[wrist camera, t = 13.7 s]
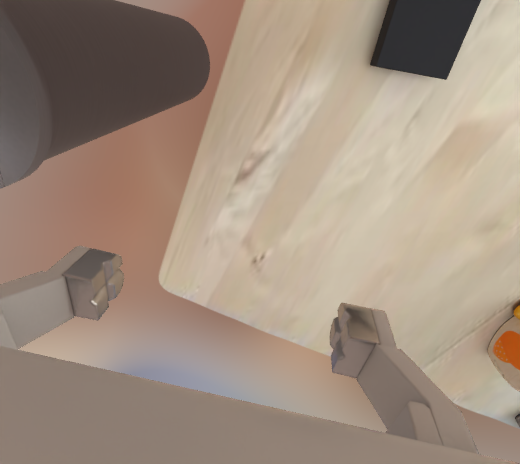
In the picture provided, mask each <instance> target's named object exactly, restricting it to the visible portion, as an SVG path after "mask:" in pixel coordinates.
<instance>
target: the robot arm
mask: <svg viewBox="0 0 520 464" xmlns="http://www.w3.org/2000/svg"><path fill="white" fill-rule="evenodd" d="M121 265H122V258H121V256H119V255H117V254H114V253H110V252H105V251H101V250H97V249H91V248H87V247H83V246H78V247H75V248H74V249H73V250H71V251H70V252H69V253H68V254H67V255H66V256H64V257H63V258H62V259H61V260H59V261H58V262H57V263H56V264H55V265H54V266H52V267H51V268H50V269H49V270H48V271H46V272H43V271H40V272H37V273H34V274H31V275H28V276H25V277H22V278H19V279H16V280H13V281H10V282H7V283H3V284H0V464H520V463H516V462H511V461H507V460H503V459H498V458H494V457H490V456H485V455H481V454H479V452H478V450H477V448H476V445H475V443H474V441H473V438H472V436H471V434H470V431H469V429H468V427H467V424H466V422H465V420H464V417H463V415H462V412H461V411H460V410H459V409H458V408H457V407H456V406H455V405H454V403H453V402H452V401H451V400H450V399H449V398H448V397H447V396H446V395H445V394H444V393H443V392H442V391H441V390H440V389H439V388H438V387H437V386H436V385H435V384H434V383H433V382H432V381H431V380H430V379H429V378H428V377H427V376H426V374H425V373H424V372H423V371H422V370H421V369H420V368H419V367H418V366H417V365H416V364H415V363H414V362H413V361H412V360H411V359H410V358H409V357H408V356H407V355H406V354H405V353H404V352H403V351H402V350H401V349H397V347H396V343H395V340H394V337H393V334H392V331H391V327H390V324H389V321H388V318H387V315H386V313H385V311H383V310H378V309H372V308H366V307H361V306H357V305H352V304H347V303H341V304H340V306H339V308H338V317H336V318H335V319H334V320H333V323H332V325H331V330H330V345H331V347H332V348H333V349H334V350H333V352H332V354H331V361H332V372H333V373H337V374H341V375H345V376H349V377H353V378H357V381H358V383H359V384H360V386H361V388H362V389H363V391H364V392H365V394H366V396H367V397H368V399H369V400H370V402H371V403H372V405H373V407H374V408H375V410H376V412H377V413H378V415H379V416H380V418H381V420H382V421H383V423H384V424H385V426H386V428H387V429H388V430H387V431H386V433H383V432H379V431H375V430H370V429H366V428H361V427H357V426H353V425H348V424H344V423H339V422H335V421H331V420H326V419H322V418H317V417H312V416H309V415H304V414H300V413H295V412H291V411H286V410H282V409H277V408H273V407H269V406H264V405H259V404H255V403H251V402H246V401H242V400H237V399H233V398H229V397H224V396H220V395H215V394H211V393H206V392H202V391H198V390H193V389H189V388H185V387H180V386H175V385H171V384H167V383H162V382H158V381H154V380H149V379H145V378H140V377H136V376H132V375H127V374H123V373H118V372H114V371H110V370H105V369H101V368H96V367H91V366H87V365H83V364H79V363H74V362H70V361H65V360H60V359H56V358H52V357H47V356H43V355H39V354H34V353H30V352H25V351H21V350H18V349H19V348H21V347H23V346H24V345H26V344H28V343H30V342H31V341H33V340H35V339H36V338H38V337H40V336H42V335H44V334H45V333H47V332H49V331H51V330H52V329H54V328H56V327H58V326H59V325H61V324H63V323H65V322H67V321H68V320H70V319H72V318H74V316H77V317H82V318H88V319H93V320H99V319H100V317H101V316H102V314H104V312H105V311H106V310H107V308H108V307H109V304H108V301H110V300H112V299H114V298H116V297H117V295H118V294H119V293H120V291H121V288H122V286H123V281H124V274H123V272H122V271H121V270H120V268H119V267H120V266H121Z"/></svg>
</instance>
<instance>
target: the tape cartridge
mask: <svg viewBox="0 0 520 464" xmlns="http://www.w3.org/2000/svg"><path fill="white" fill-rule="evenodd" d="M515 419H516V421H517V423H518V425H519V427H520V415H518V416H517V417H516V418H515Z"/></svg>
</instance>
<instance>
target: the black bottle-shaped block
mask: <svg viewBox="0 0 520 464" xmlns="http://www.w3.org/2000/svg"><path fill="white" fill-rule="evenodd" d="M480 1H481V0H390V2H389V5H388V8H387V11H386V15H385V18H384V21H383V24H382V28H381V31H380V34H379V37H378V41H377V44H376V47H375V50H374V54H373V57H372V60H371V63H370V65H371V66H376V67H381V68H387V69H392V70H397V71H403V72H408V73H413V74H419V75H424V76H429V77H435V78H440V79H445V80H446V79H447V77H448V75H449V73H450V70H451V68H452V66H453V63H454V61H455V59H456V57H457V54H458V52H459V50H460V47H461V45H462V43H463V40H464V38H465V36H466V33H467V31H468V29H469V26H470V24H471V22H472V20H473V17H474V15H475V13H476V10H477V8H478V6H479V3H480Z"/></svg>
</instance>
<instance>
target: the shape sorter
mask: <svg viewBox="0 0 520 464" xmlns="http://www.w3.org/2000/svg"><path fill="white" fill-rule="evenodd" d="M514 315H515V316H514V317H512V318H511V319H510V320H508V321H507V322H506V323H505V324H504V325H503V326H502V327H501V328H500V329H499V330H498V331H497V333H496V334H495V335H494V337H493V339H492V340H491V342H490V345H489V348H488V354H489V357H490V359H491V361H492V362H493V364H494V366H495V367H496V369H497V370H498V371H499V373H500V374H501V375H502V376H503V378H504V379H505V380H506V381H507V382H508V383H509V384H510V385H511V386H512V387H513V388H514V389H516V390H517V391H519V392H520V305H519V306H518V307H517V308H516V309H515V310H514Z"/></svg>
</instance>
